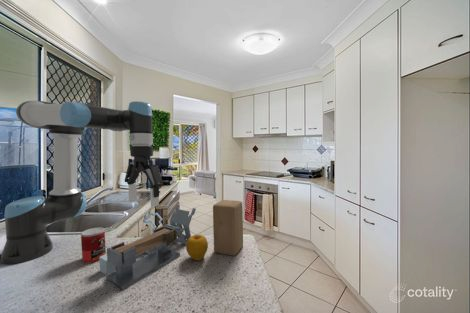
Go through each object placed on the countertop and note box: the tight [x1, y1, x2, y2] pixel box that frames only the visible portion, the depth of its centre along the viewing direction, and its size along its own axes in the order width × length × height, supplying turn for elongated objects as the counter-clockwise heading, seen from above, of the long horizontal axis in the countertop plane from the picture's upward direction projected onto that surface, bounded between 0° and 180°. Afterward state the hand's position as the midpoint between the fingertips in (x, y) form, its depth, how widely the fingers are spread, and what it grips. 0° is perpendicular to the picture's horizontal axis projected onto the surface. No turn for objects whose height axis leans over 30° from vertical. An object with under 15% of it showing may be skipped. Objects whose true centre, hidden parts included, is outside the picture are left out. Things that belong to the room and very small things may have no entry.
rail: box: [114, 229, 171, 257], centre depth 73 cm, size 4×20×4 cm, turn 148°
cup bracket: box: [105, 225, 181, 291], centre depth 73 cm, size 10×23×11 cm, turn 148°
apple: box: [185, 234, 209, 261], centre depth 78 cm, size 8×8×9 cm
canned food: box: [80, 226, 107, 264], centre depth 80 cm, size 8×8×11 cm
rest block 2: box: [144, 246, 158, 255], centre depth 85 cm, size 5×4×5 cm
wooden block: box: [212, 199, 244, 257], centre depth 85 cm, size 10×10×20 cm
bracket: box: [163, 204, 197, 246], centre depth 94 cm, size 13×10×15 cm
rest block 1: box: [98, 253, 116, 276], centre depth 72 cm, size 5×4×5 cm
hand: (143, 203), depth 73 cm, fingers open, 13 cm apart
